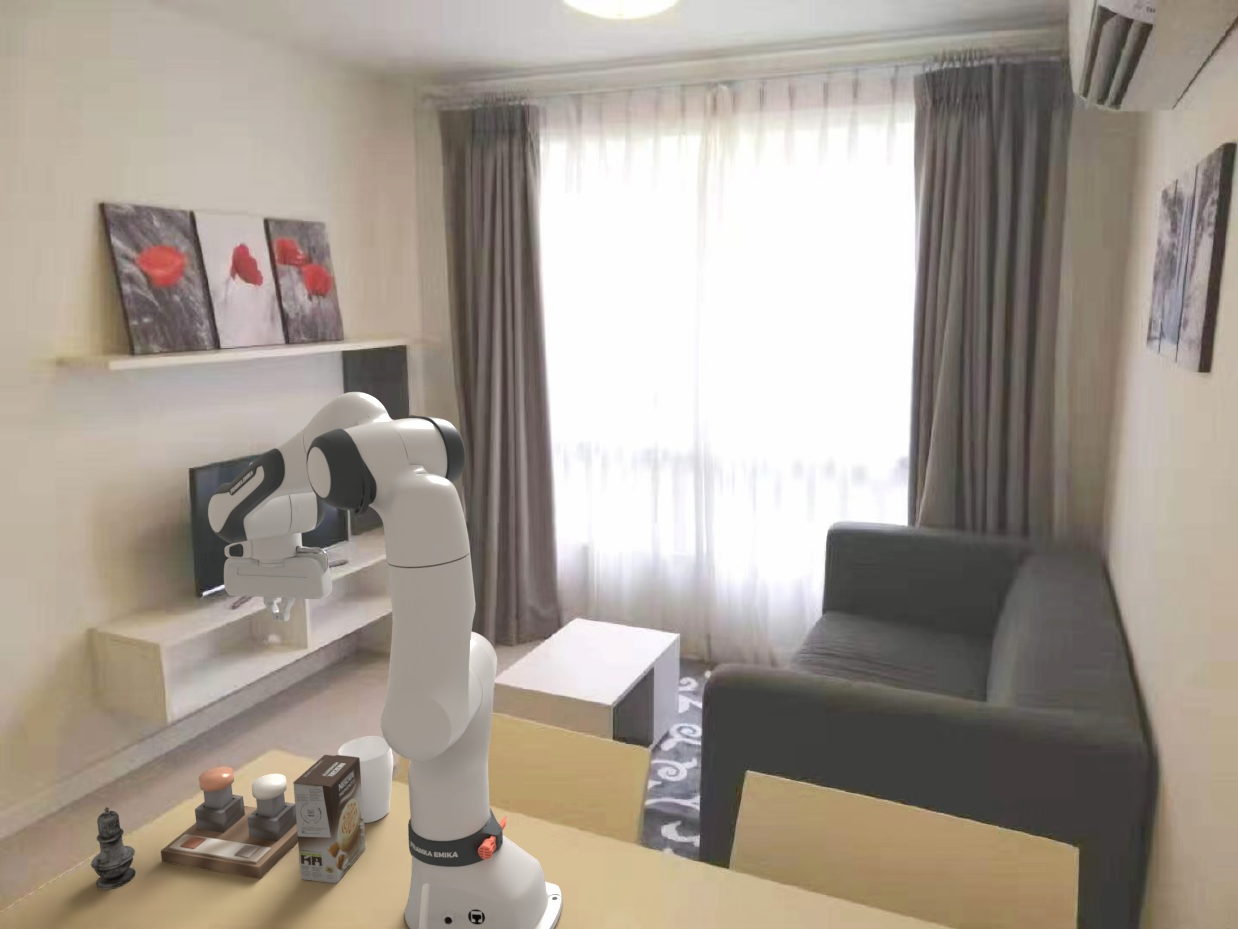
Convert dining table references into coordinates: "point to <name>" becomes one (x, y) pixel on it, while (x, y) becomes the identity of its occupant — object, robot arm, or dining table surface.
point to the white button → (269, 794)
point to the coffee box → (329, 818)
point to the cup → (372, 773)
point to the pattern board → (234, 840)
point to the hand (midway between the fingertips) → (280, 620)
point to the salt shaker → (112, 853)
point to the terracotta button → (217, 787)
